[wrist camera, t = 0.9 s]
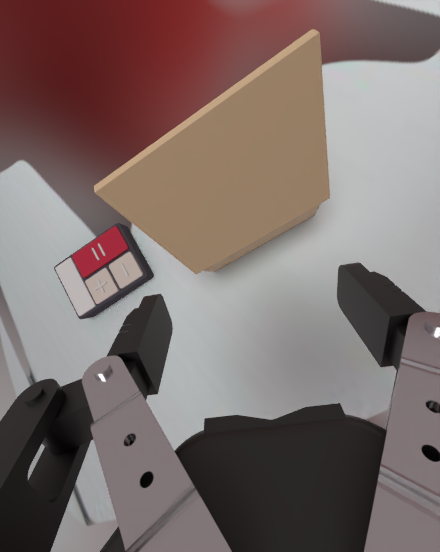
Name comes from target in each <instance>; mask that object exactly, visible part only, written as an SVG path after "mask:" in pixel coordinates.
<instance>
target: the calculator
mask: <svg viewBox="0 0 440 552" xmlns="http://www.w3.org/2000/svg"><path fill="white" fill-rule="evenodd" d="M54 269H55V271H56V273H57V275H58V277H59V279H60V281H61V283H62V285H63V287H64V289H65V291H66V293H67V295H68V297H69V299H70V301H71V303H72V305H73V307H74V309H75V311H76V313H77V315H78V317H79V319H85V318H90V317H94V316H96V315H97V314H99V313H100V312H102V311H103V310H105V309H106V308H108V307H109V306H110V305H112V304H113V303H115V302H116V301H118V300H119V299H121V298H123V297H124V296H126V295H127V294H129V293H130V292H132V291H133V290H135V289H136V288H138V287H139V286H141V285H142V284H144V283H145V282H147V281H148V280H150V279H152V278H153V277H154V274H153V272H152V271H151V269H150V267H149V265H148V263H147V262H146V260H145V258H144V256H143V254H142V253H141V251H140V249H139V247H138V245H137V244H136V242H135V240H134V238H133V236H132V235H131V232H130V230H129V228H128V227H126V226H124V225H122V224H119V223H117V224H115V225H114V226H112V227H111V228H109V229H108V230H106V231H105V232H104V233H102V234H101V235H99V236H98V237H96V238H95V239H94V240H92V241H91V242H89V243H88V244H86V245H85V246H83V247H82V248H81V249H79V250H78V251H76V252H75V253H73V254H72V255H70V256H69V257H68V258H66V259H65V260H63V261H62V262H60V263H59V264H58V265H56V266H55V267H54Z"/></svg>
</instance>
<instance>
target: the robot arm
mask: <svg viewBox="0 0 440 552" xmlns="http://www.w3.org/2000/svg"><path fill="white" fill-rule="evenodd" d="M337 299H338V304H339V306H340V308H341V310H342V311H343V313H344V314H345V316H346V317H347V319H348V320H349V322H350V323H351V325H352V326H353V327H354V329H355V330H356V332H357V333H358V335H359V336H360V338H361V339H362V341H363V342H364V344H365V345H366V346H367V348H368V349H369V351H370V352H371V354H372V355H373V357H374V358H375V360H376V361H377V362H378V364H379V365H380V367H386V366H394V367H395V368H396V370H397V373H396V377H395V382H394V387H393V392H392V397H391V402H390V406H389V411H388V416H387V421H386V426H385V429H383V428H382V427H380V426H378V425H376V424H374V423H372V422H370V421H367V420H364V419H361V418H358V417H354V416H350V415H345V414H344V411H343V409H342V407H341V405H340V403H338V404H329V405H321V406H312V407H305V408H302V409H300V410H297V411H295V412H292V413H289V414H287V415H284V416H282V417H279V418H277V419H274V420H267V419H261V418H254V417H247V416H240V415H232V416H223V417H215V418H206V419H205V422H204V430H203V431H200V432H198V433H197V434H195V435H193V436H191V437H190V438H189V439H187V440H186V441H184V442H183V443H182V444H181V445H180V446H179V447H178V448H177V449H176V450H175V451H174V450H173V448H172V446H171V444H170V443H169V441H168V439H167V437H166V436H165V434H164V432H163V430H162V429H161V427H160V425H159V423H158V422H157V420H156V418H155V416H154V415H153V413H152V411H151V409H150V407H149V406H148V404H147V402H146V399H147V395H153V394H158V391H159V386H160V382H161V378H162V374H163V369H164V365H165V361H166V357H167V353H168V348H169V344H170V340H171V336H172V321H171V318H170V315H169V312H168V310H167V307H166V304H165V301H164V299H163V296H162V295H161V294H157V295H151V296H145V297H144V298H143V299H142V302H141V304H140V306H139V308H136V309H134V310H133V311H132V312H131V313H130V314H129V315H128V316H127V317H126V319H125V321H124V323H123V326H122V327H121V329H120V331H119V333H118V335H117V337H116V339H115V341H114V343H113V345H112V347H111V349H110V351H109V353H108V355H107V357H104V358H101V359H100V360H98V361H96V362H95V363H93V364H92V365H91V366H90V367H89V368H88V369H87V370H86V372H85V373H84V375H83V378H82V379H80V380H77V381H75V382H72V383H70V384H67V385H65V386H62V387H60V385H59V384H58V383H57V381H55V380H54V379H45V380H42V381H39V382H37V383H35V384H33V385H31V386H30V387H29V388H27V389H26V390H25V391H23V392H22V393H21V394H20V395H19V396H18V397H17V399H16V400H15V402H14V403H13V404H12V406H11V407H10V409H9V410H8V411H7V413H6V414H5V416H4V417H3V418H2V420H1V421H0V552H50V551H51V548H52V546H53V543H54V540H55V537H56V535H57V532H58V529H59V526H60V524H61V521H62V518H63V515H64V513H65V510H66V507H67V504H68V502H69V499H70V496H71V494H72V491H73V488H74V485H75V483H76V480H77V477H78V474H79V472H80V469H81V466H82V463H83V461H84V458H85V455H86V452H87V450H88V447H89V444H90V442H91V440H93V439H94V442H95V446H96V449H97V453H98V456H99V460H100V463H101V467H102V470H103V473H104V477H105V480H106V484H107V487H108V491H109V494H110V498H111V501H112V505H113V508H114V512H115V515H116V519H117V522H118V528H117V529H116V530H115V532H114V533H113V535H112V536H111V537H110V539H109V540H108V541H107V543H106V544H105V545H104V547H103V548H102V549H101V551H100V552H440V313H435V312H426V311H425V310H424V309H423V308H422V307H420V306H419V305H418V304H417V303H416V302H415V301H414V300H412V299H411V298H410V297H409V296H408V295H407V294H405V293H404V292H402V291H401V289H400V288H399V287H397V286H395V284H394V283H393V282H392V281H390V280H389V279H388V278H387V277H385V276H383V275H381V274H379V273H376V272H369V271H368V270H367V269H366V268H365V267H364V266H363V265H362V264H361V263H352V264H346V265H340V266H339V269H338V287H337ZM41 444H43V445H44V446H45V448H44V450H43V452H42V454H41V456H40V458H39V460H38V462H37V464H36V466H35V468H34V470H33V472H32V474H31V476H30V478H29V480H28V477H27V476H28V470H29V467H30V465H31V463H32V461H33V459H34V457H35V455H36V453H37V451H38V449H39V448H40V446H41Z"/></svg>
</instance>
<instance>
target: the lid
mask: <svg viewBox="0 0 440 552" xmlns="http://www.w3.org/2000/svg"><path fill="white" fill-rule="evenodd" d="M94 191H95V193H96V194H97V195H98V196H100V197H101V198H102V199H103V200H105V201H106V202H107V203H108V204H109V205H111V206H112V207H113V208H114V209H116V210H117V211H118V212H119V213H121V214H122V215H123V216H124V217H126V218H127V219H128V220H129V221H131V222H132V223H133V224H134V225H135V226H137V227H138V228H139V229H140V230H142V231H143V232H144V233H145V234H147V235H148V236H149V237H150V238H152V239H153V240H154V241H155V242H157V243H158V244H159V245H160V246H162V247H163V248H164V249H165V250H166V251H168V252H169V253H170V254H171V255H173V256H174V257H175V258H176V259H178V260H179V261H180V262H181V263H183V264H184V265H185V266H186V267H188V268H189V269H190V270H191V271H192V272H194V273H195V274H198V273H200V272H201V271H203V270H205V269H207V268H208V267H210V266H212V265H214V264H215V263H217V262H219V261H221V260H222V259H224V258H226V257H228V256H229V255H231V254H233V253H235V252H236V251H238V250H240V249H242V248H243V247H245V246H247V245H249V244H250V243H252V242H254V241H256V240H257V239H259V238H261V237H263V236H264V235H266V234H268V233H270V232H271V231H273V230H275V229H277V228H278V227H280V226H282V225H284V224H285V223H287V222H289V221H291V220H292V219H294V218H296V217H297V216H299V215H301V214H303V213H304V212H306V211H308V210H310V209H311V208H313V207H315V206H317V205H318V204H320V203H322V202H324V201H325V200H327V199H329V198H330V191H329V175H328V159H327V144H326V128H325V112H324V96H323V80H322V64H321V50H320V33H319V32H318V31H316V30H314V29H312V30H310V31H309V32H308V33H306V34H305V35H303V36H302V37H301V38H299V39H298V40H296V41H295V42H294V43H292V44H291V45H290V46H288V47H287V48H285V49H284V50H282V51H281V52H280V53H278V54H277V55H276V56H274V57H273V58H272V59H270V60H269V61H267V62H266V63H264V64H263V65H262V66H260V67H259V68H257V69H256V70H255V71H253V72H252V73H251V74H249V75H248V76H247V77H245V78H244V79H242V80H241V81H239V82H238V83H237V84H235V85H234V86H232V87H231V88H230V89H228V90H227V91H226V92H225V93H223V94H221V95H220V96H219V97H217V98H216V99H214V100H213V101H212V102H210V103H209V104H207V105H206V106H205V107H203V108H202V109H200V110H199V111H198V112H197V113H195V114H194V115H192V116H191V117H189V118H188V119H187V120H185V121H184V122H182V123H181V124H180V125H178V126H177V127H175V128H174V129H173V130H171V131H170V132H169V133H167V134H166V135H164V136H163V137H162V138H160V139H159V140H157V141H156V142H155V143H153V144H152V145H150V146H149V147H148V148H146V149H145V150H143V151H142V152H141V153H139V154H138V155H137V156H135V157H134V158H132V159H131V160H130V161H128V162H127V163H126V164H124V165H123V166H121V167H120V168H119V169H117V170H116V171H114V172H113V173H112V174H110V175H109V176H107V177H106V178H105V179H104V180H102V181H100V182H99V183H98V184H97V185H95V186H94Z"/></svg>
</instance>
